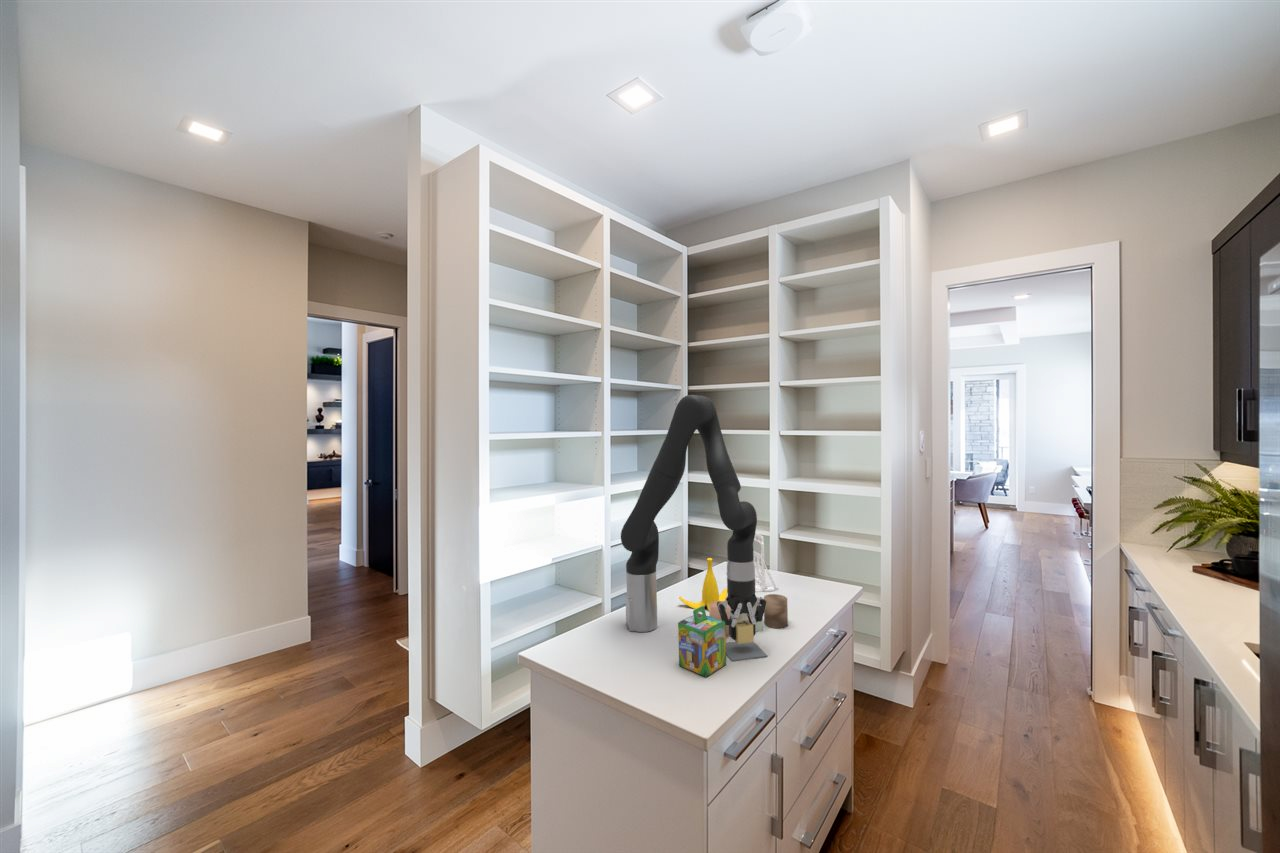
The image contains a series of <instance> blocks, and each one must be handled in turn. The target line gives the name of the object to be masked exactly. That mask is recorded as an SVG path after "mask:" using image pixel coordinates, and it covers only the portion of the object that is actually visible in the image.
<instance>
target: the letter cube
mask: <svg viewBox="0 0 1280 853" xmlns="http://www.w3.org/2000/svg"><path fill="white" fill-rule="evenodd" d="M735 627H736V640H734V642H737V643H738V644H742V643H749V642H754V643H755V641H754V640H755V638H754V637H755V635H753V625H752V624H751V623H750V622H749V621H748V620H747V619H743V620H737V622H736V625H735Z"/></svg>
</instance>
